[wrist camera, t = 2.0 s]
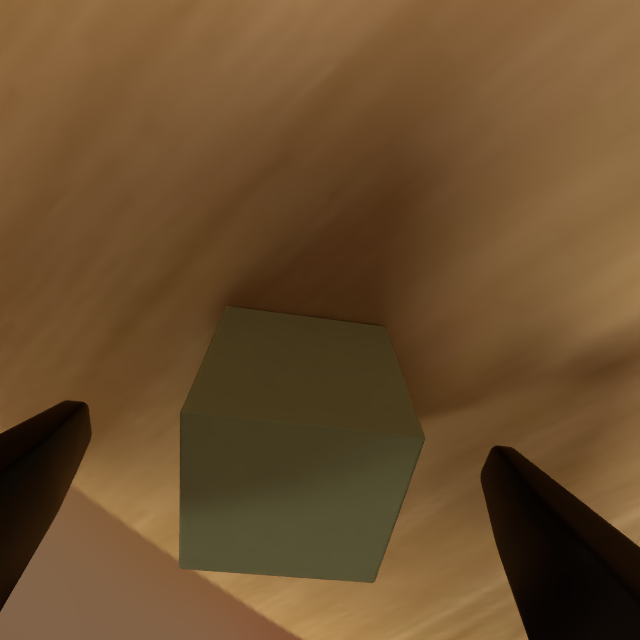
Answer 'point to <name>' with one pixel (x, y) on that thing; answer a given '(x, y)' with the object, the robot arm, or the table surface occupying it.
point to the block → (295, 448)
